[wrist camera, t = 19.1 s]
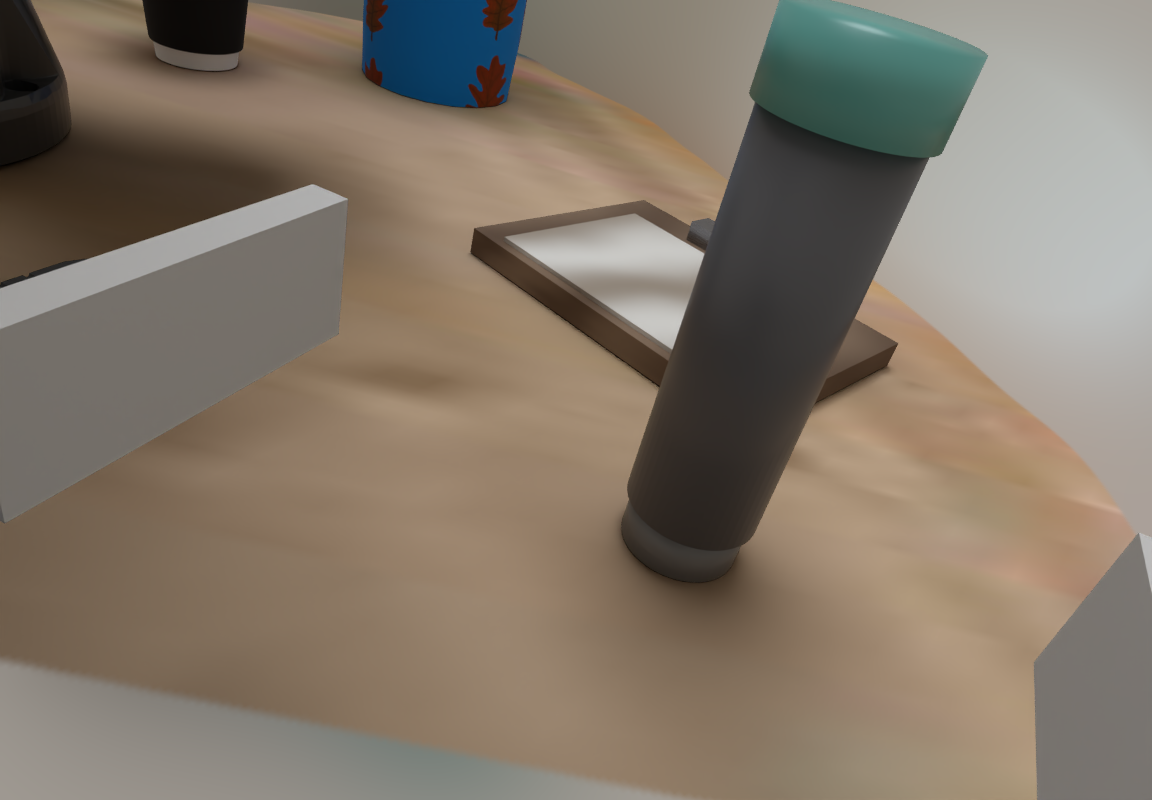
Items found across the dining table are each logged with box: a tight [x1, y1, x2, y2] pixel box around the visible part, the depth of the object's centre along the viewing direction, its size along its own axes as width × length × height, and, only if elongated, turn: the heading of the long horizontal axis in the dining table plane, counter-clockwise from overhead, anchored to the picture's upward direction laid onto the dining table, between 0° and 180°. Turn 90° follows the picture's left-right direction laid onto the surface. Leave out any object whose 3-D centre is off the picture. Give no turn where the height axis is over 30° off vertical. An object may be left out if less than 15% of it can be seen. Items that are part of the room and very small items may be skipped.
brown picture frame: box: [471, 200, 898, 403], centre depth 38 cm, size 16×12×2 cm
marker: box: [621, 0, 988, 582], centre depth 22 cm, size 4×4×15 cm
